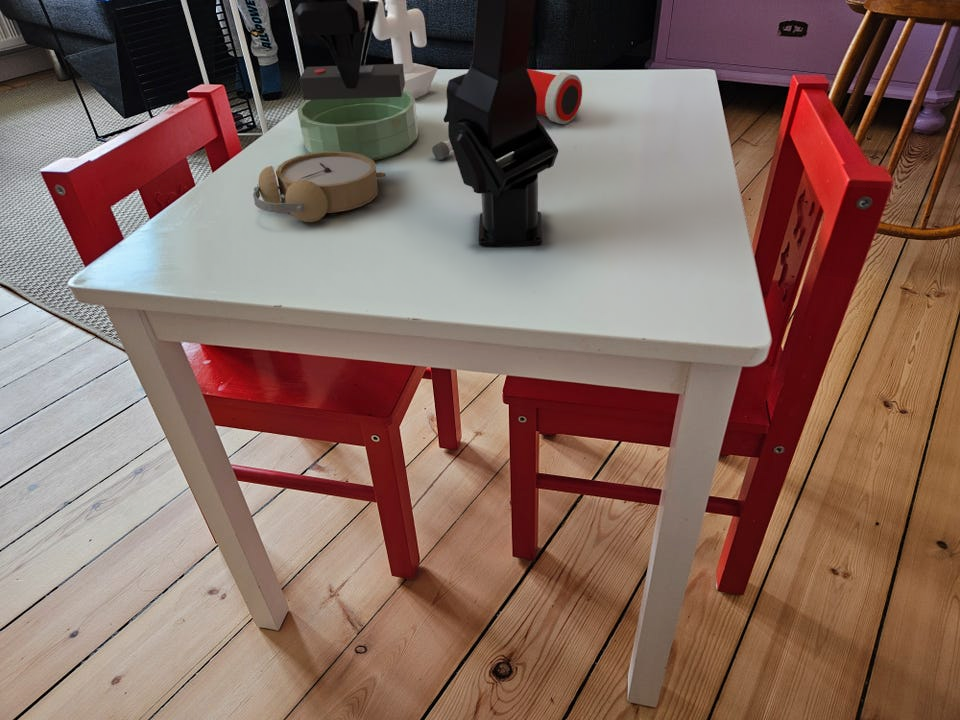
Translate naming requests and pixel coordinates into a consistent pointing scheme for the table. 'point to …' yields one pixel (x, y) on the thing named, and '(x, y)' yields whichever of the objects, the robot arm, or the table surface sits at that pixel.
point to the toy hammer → (544, 101)
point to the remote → (369, 85)
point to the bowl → (360, 125)
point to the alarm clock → (318, 184)
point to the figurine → (405, 42)
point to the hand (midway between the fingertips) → (354, 81)
